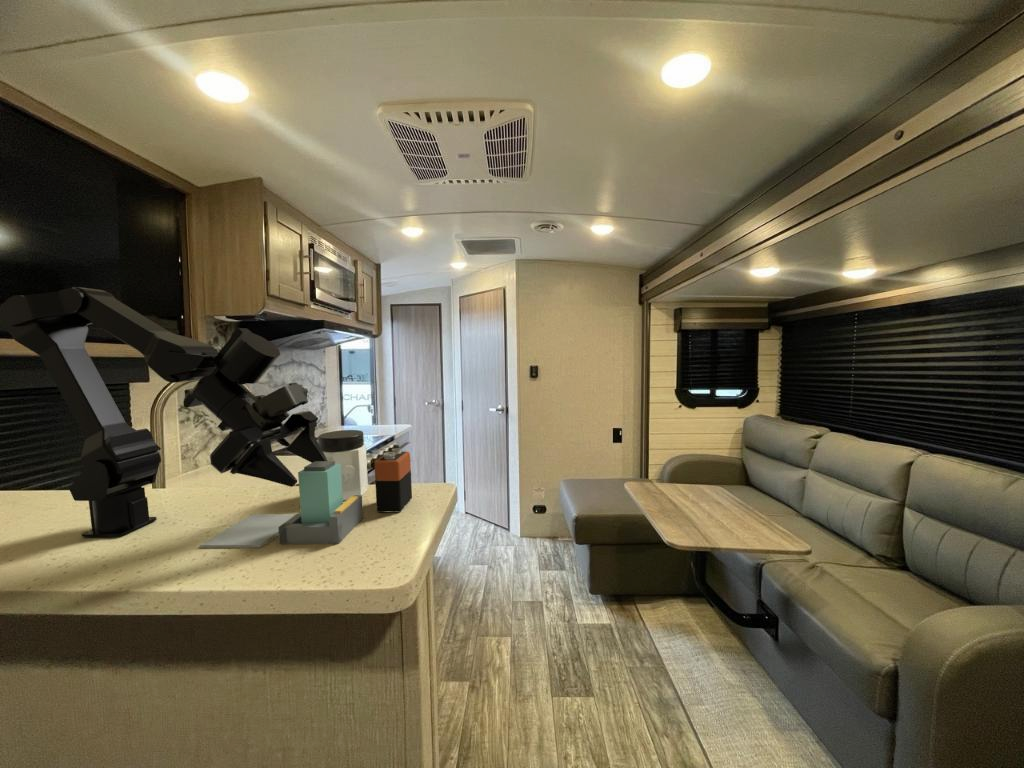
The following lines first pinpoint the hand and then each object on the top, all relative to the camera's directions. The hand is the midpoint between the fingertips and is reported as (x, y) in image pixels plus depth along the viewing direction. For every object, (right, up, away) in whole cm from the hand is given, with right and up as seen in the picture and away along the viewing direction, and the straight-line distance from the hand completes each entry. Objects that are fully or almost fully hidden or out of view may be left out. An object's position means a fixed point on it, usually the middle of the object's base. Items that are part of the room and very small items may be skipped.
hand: (311, 474), depth 63 cm
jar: (-2, -8, +17) cm, 19 cm away
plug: (+2, -9, +1) cm, 9 cm away
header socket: (+2, -9, +1) cm, 9 cm away
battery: (+10, -8, +10) cm, 16 cm away
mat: (-9, -9, +1) cm, 13 cm away
